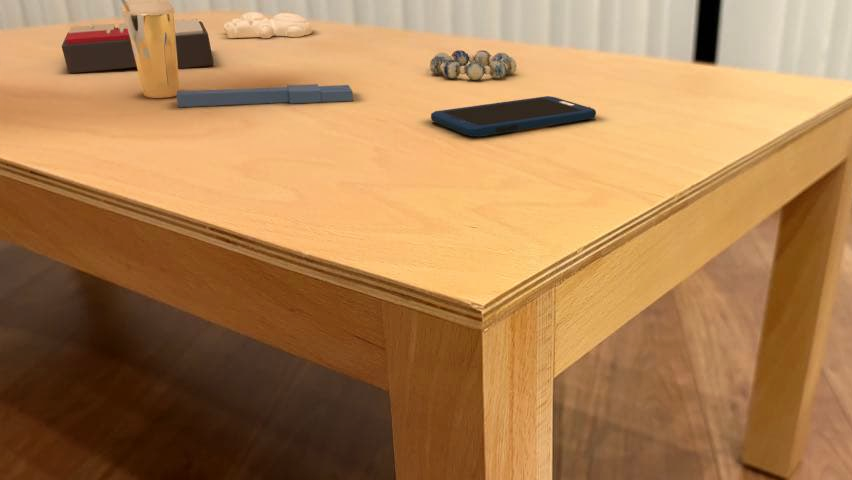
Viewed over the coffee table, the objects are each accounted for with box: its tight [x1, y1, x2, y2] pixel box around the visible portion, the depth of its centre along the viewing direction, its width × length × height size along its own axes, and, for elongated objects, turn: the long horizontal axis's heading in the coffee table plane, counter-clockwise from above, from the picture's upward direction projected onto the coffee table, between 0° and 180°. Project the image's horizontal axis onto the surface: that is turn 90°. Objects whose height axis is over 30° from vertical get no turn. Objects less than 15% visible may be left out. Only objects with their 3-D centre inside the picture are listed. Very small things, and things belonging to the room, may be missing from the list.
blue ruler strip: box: [175, 83, 354, 108], centre depth 83 cm, size 16×3×1 cm, turn 108°
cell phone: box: [430, 95, 597, 137], centre depth 78 cm, size 7×14×1 cm, turn 127°
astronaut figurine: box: [222, 11, 313, 39], centre depth 121 cm, size 9×12×3 cm
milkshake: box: [120, 0, 181, 99], centre depth 82 cm, size 4×5×10 cm
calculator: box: [61, 18, 215, 74], centre depth 99 cm, size 11×4×15 cm
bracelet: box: [429, 49, 517, 81], centre depth 98 cm, size 10×10×2 cm
